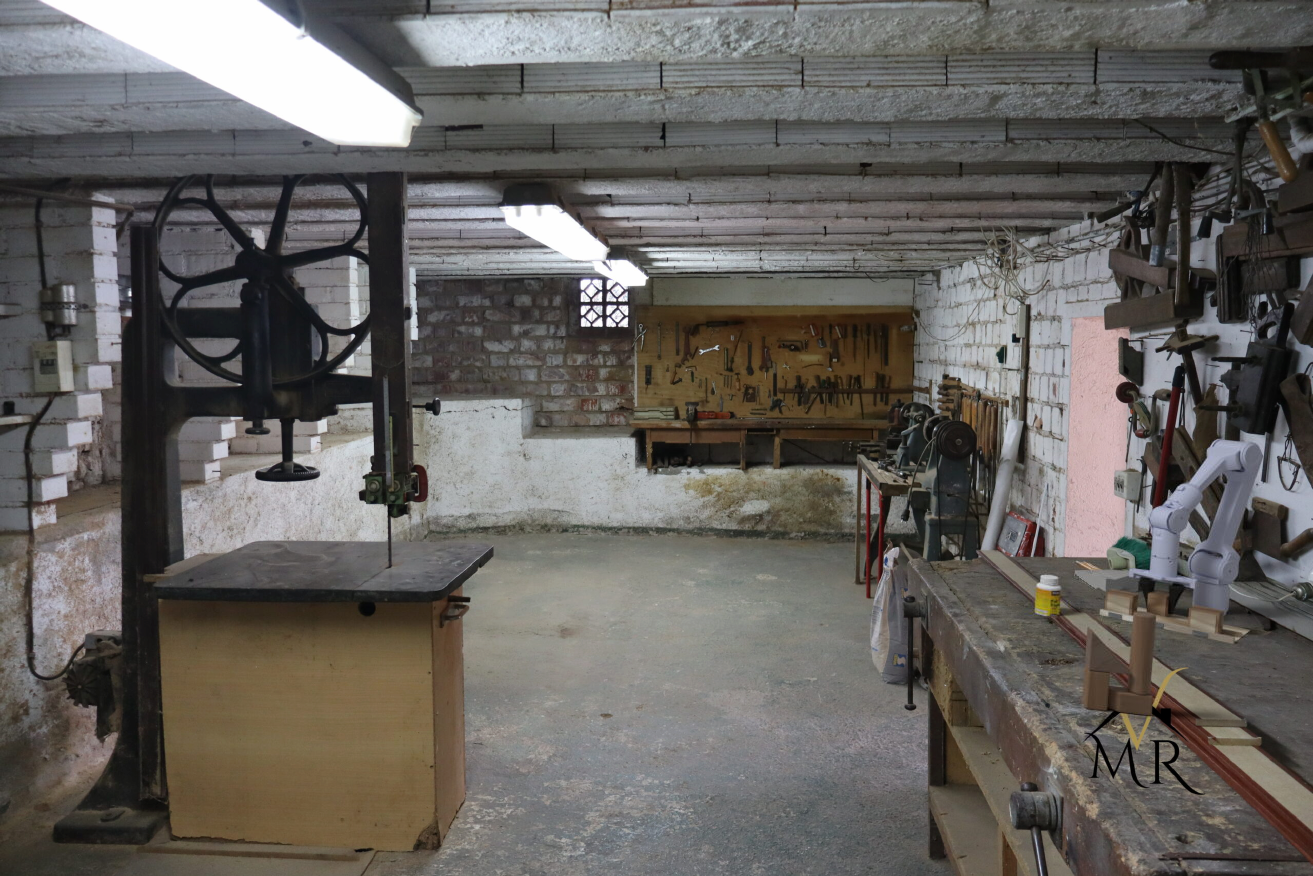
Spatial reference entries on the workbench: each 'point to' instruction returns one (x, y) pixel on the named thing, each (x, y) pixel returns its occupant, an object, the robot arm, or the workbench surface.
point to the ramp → (1109, 579)
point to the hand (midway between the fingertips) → (1159, 611)
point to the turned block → (1158, 603)
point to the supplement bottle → (1048, 596)
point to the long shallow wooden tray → (1184, 626)
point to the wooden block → (1121, 670)
